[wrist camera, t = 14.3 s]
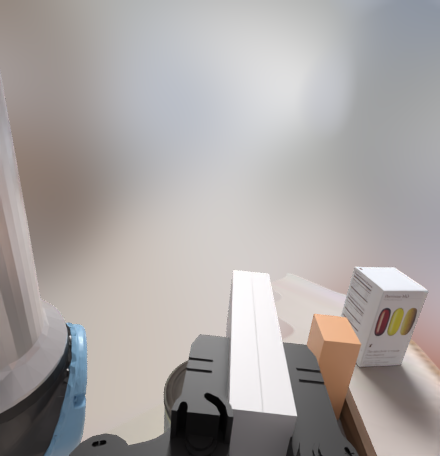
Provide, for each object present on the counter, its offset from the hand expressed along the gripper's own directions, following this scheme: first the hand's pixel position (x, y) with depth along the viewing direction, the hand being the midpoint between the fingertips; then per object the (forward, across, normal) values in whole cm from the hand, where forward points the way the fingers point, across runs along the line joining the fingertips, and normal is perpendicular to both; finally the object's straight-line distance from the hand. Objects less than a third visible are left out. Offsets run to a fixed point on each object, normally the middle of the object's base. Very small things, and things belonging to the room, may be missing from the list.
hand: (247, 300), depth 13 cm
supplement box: (+41, +30, -35) cm, 62 cm away
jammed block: (+26, +16, -34) cm, 46 cm away
